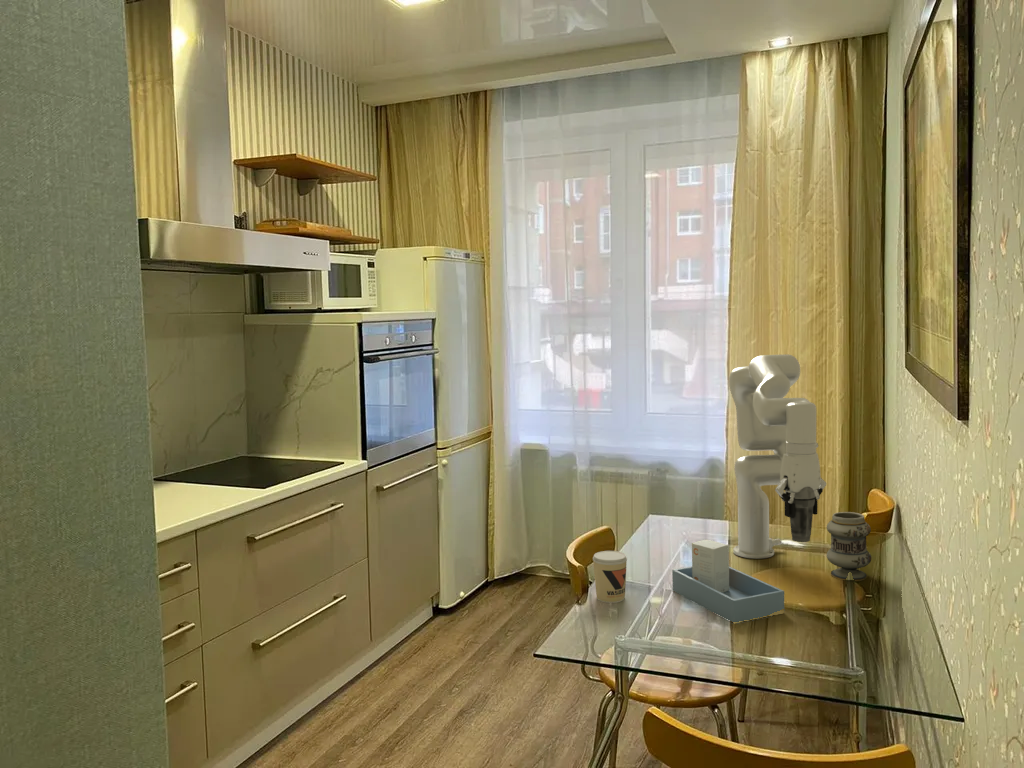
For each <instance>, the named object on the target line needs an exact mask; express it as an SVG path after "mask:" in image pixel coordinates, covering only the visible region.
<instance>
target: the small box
mask: <svg viewBox="0 0 1024 768" xmlns="http://www.w3.org/2000/svg"><path fill="white" fill-rule="evenodd" d="M729 550H730V549H729V544H726V543H723V542H718V541H715V540H710V539H702V540H699V541H696V542H692V543H691V566H692V578H693V579H695V580H697V581H699V582H701V583H703V584H705V585H707V586H709V587H711V588H713V589H715V590H717V591H719V592H721V593H724V592H726V591H729V567H730V562H729V561H730V552H729Z"/></svg>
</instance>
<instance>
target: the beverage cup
mask: <svg viewBox="0 0 1024 768" xmlns="http://www.w3.org/2000/svg"><path fill="white" fill-rule="evenodd" d="M790 494H791V493H789V497H790ZM815 499H816V497H815V493H814V490H813V489H812V488H811V487H804V488H803V489H801V490H800V492H798V493H796V494H795V497H794V500H793V502H792V503H795V517H794V518H790V517H789V523H790V533H791V534H790V535H791V540H792V541H794V542H798V543H807V542H811V535H812V527H813V526H812V525H813V515H814V514H813V506H814V503H815Z"/></svg>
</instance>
